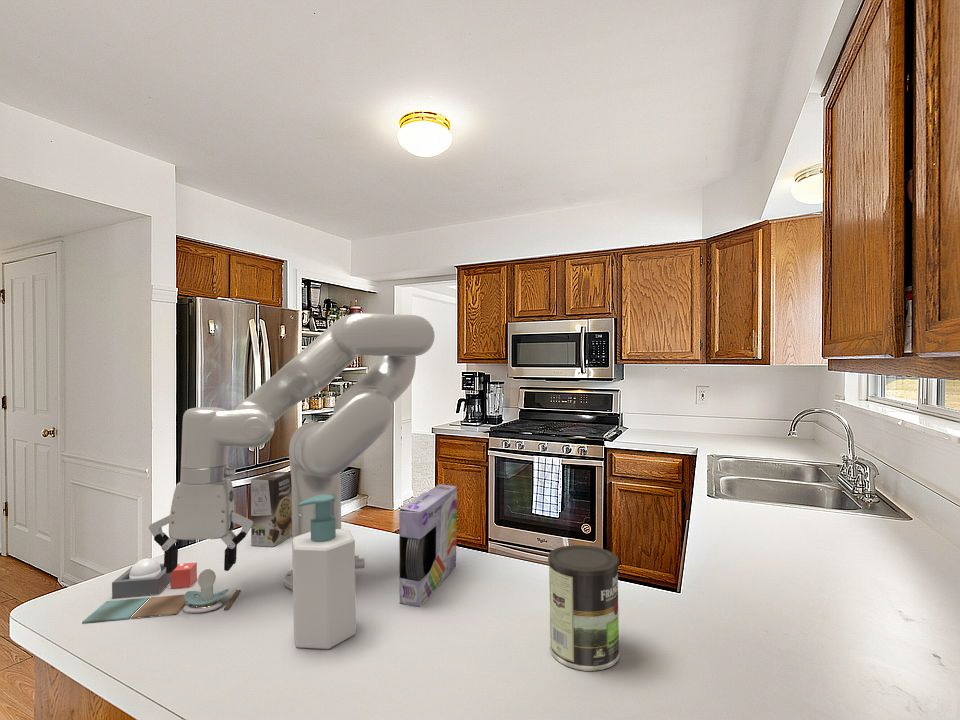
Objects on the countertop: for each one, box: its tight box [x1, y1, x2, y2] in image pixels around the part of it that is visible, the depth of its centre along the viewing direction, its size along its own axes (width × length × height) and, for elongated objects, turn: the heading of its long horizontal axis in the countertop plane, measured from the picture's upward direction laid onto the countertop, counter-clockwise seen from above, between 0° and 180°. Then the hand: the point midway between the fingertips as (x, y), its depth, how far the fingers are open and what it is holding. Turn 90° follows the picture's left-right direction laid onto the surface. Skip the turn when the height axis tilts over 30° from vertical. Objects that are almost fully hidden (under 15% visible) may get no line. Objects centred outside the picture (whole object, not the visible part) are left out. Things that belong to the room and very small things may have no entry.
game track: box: [81, 589, 241, 625], centre depth 92 cm, size 23×8×1 cm, turn 100°
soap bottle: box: [291, 494, 357, 650], centre depth 82 cm, size 10×9×22 cm
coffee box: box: [250, 471, 292, 548], centre depth 126 cm, size 9×6×16 cm
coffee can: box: [547, 544, 621, 672], centre depth 76 cm, size 10×10×14 cm
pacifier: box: [182, 569, 230, 614], centre depth 92 cm, size 7×6×6 cm
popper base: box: [111, 561, 198, 599], centre depth 101 cm, size 13×8×4 cm, turn 100°
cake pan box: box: [398, 483, 458, 608], centre depth 99 cm, size 19×5×18 cm, turn 161°
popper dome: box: [129, 557, 161, 579], centre depth 100 cm, size 5×5×5 cm
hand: (200, 569), depth 93 cm, fingers open, 9 cm apart
